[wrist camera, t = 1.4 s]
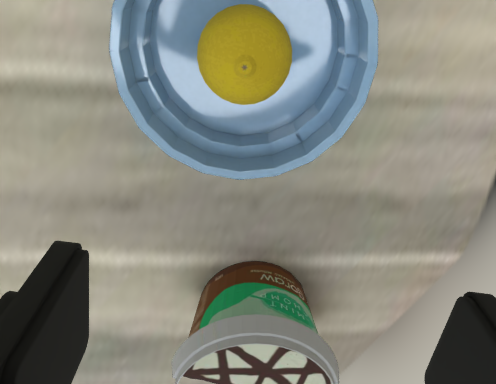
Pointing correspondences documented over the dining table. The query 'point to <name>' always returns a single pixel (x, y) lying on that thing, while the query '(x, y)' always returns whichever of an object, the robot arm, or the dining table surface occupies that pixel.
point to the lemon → (244, 54)
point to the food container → (255, 332)
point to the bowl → (252, 115)
